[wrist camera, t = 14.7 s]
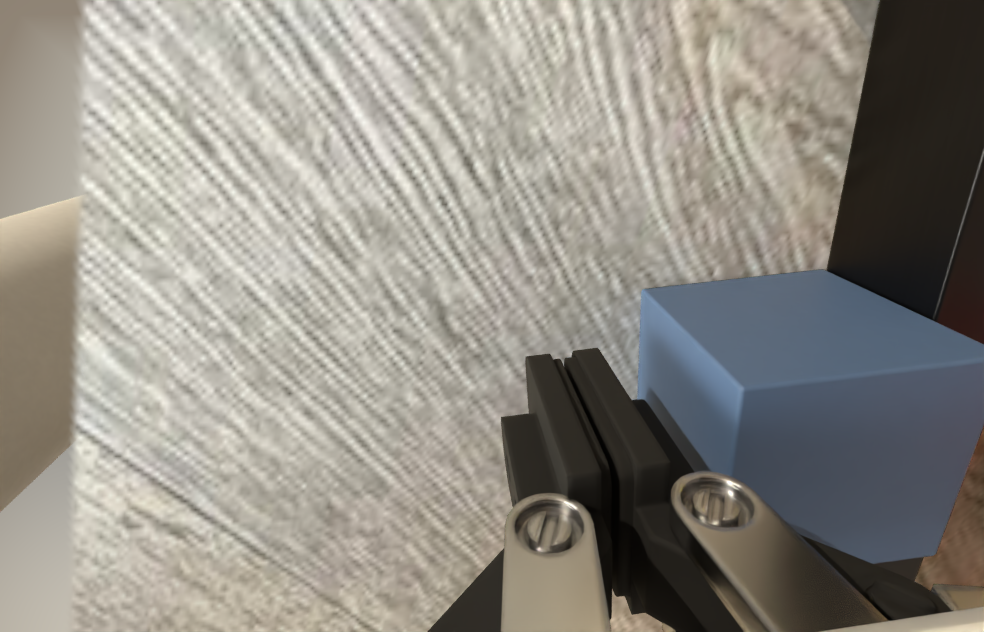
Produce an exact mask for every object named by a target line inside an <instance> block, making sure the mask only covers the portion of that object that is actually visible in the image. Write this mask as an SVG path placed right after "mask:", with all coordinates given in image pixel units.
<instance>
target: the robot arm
mask: <svg viewBox="0 0 984 632" xmlns="http://www.w3.org/2000/svg"><path fill="white" fill-rule="evenodd" d="M525 362H526V378H527V393H528V408H529V414H522V415H514V416H506V417H501V426H502V437H503V447H504V456H505V464H506V471H507V478H508V484H509V490H510V495H511V501H512V506H513V508H512V509H511V511H510V512H509V514H508V515H507V519H506V524H505V538H504V549H503V550H502V551H501V552H500V553H499V554H498V555H497V556H496V557H495V559H494V560H493V561H492V562H491V563H490V564H489V565H488V566H487V567H486V568H485V570H484V571H483V572H482V573H481V574H480V575H479V576H478V577H477V578H476V579H475V580H474V582H473V583H472V584H471V585H470V586H469V587H468V588H467V589H466V590H465V591H464V592H463V594H462V595H461V596H460V597H459V598H458V599H457V600H456V601H455V602H454V603H453V604H452V606H451V607H450V608H449V609H448V610H447V611H446V612H445V613H444V614H443V615H442V617H441V618H440V619H439V620H438V621H437V622H436V623H435V624H434V625H433V626H432V627H431V629H430V630H429V631H428V632H611V625H610V619H611V614H612V589H613V591H614V594H615V595H616V596H617V597H619V596H625V598H626V600H627V603H628V606H629V608H630V611H631V614H632V615H633V614H639V613H647V614H649V615H650V616H652V617H654V618H655V619H657V620H659V621H661V622H662V630H663V632H984V587H978V586H961V585H944V584H933V587H932V590H931V591H929V590H928V589H926V588H925V587H924V586H922V585H920V584H918V583H916V582H914V581H912V580H910V579H908V578H906V577H904V576H902V575H899V574H897V573H894V572H892V571H889V570H887V569H884V568H882V567H879V566H877V565H874V564H872V563H870V562H867V561H865V560H862V559H860V558H857V557H855V556H852V555H850V554H847V553H845V552H842V551H840V550H837V549H835V548H832V547H830V546H827V545H825V544H822V543H820V542H817V541H815V540H812V539H810V538H807V537H805V536H802V535H800V534H799V533H797V532H796V531H795V530H794V529H793V528H792V527H791V526H790V525H789V524H788V523H787V522H786V521H785V520H784V519H783V518H782V517H781V516H780V515H779V514H778V513H777V512H776V511H775V510H774V509H773V508H772V507H771V506H770V505H769V504H768V503H766V502H765V501H764V500H763V499H762V498H761V497H760V496H759V495H758V494H757V493H756V492H755V491H754V490H753V489H751V488H750V487H749V486H747V485H746V484H745V483H744V482H742V481H740V480H737V479H735V478H733V477H731V476H728V475H725V474H721V473H717V472H706V471H701V472H694V470H693V469H692V467H691V466H690V464H689V463H688V462H687V460H686V459H685V457H684V456H683V454H682V453H681V451H680V450H679V448H678V447H677V445H676V444H675V442H674V441H673V440H672V438H671V437H670V435H669V434H668V432H667V431H666V429H665V428H664V426H663V425H662V423H661V422H660V420H659V419H658V418H657V416H656V415H655V413H654V412H653V410H652V409H651V407H650V406H649V404H648V403H647V402H646V401H645V400H643V399H638V400H631V399H630V397H629V396H628V394H627V393H626V391H625V390H624V388H623V386H622V385H621V383H620V382H619V380H618V379H617V377H616V375H615V374H614V372H613V371H612V369H611V367H610V366H609V364H608V363H607V361H606V360H605V358H604V356H603V355H602V353H601V352H600V350H599V349H598V348H592V349H584V350H576V351H573V352H572V357H570V358H565V360H564V366H563V364H562V362H561V360H560V359H554V360H553V359H552V357H551V355H550V354H543V355H535V356H527V357H526V361H525Z"/></svg>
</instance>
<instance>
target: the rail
mask: <svg viewBox="0 0 984 632" xmlns="http://www.w3.org/2000/svg"><path fill="white" fill-rule="evenodd" d="M827 271H828V272H830V273H832V274H834V275H836V276H839V277H841V278H843V279H845V280H847V281H849V282H851V283H854V284H856V285H858V286H860V287H862V288H864V289H866V290H868V291H871V292H873V293H875V294H877V295H879V296H881V297H883V298H886V299H888V300H890V301H892V302H894V303H896V304H898V305H901V306H903V307H905V308H907V309H909V310H911V311H913V312H916V313H918V314H920V315H922V316H924V317H926V318H928V319H930V320H933V321H935V322H937V323H939V324H941V325H943V326H945V327H948V328H950V329H952V330H954V331H956V332H958V333H960V334H963V335H965V336H967V337H969V338H971V339H973V340H975V341H978V342H980V343H982V344H984V0H880V2H879V7H878V12H877V17H876V22H875V28H874V33H873V38H872V43H871V48H870V53H869V58H868V63H867V68H866V73H865V78H864V83H863V88H862V94H861V99H860V104H859V109H858V114H857V119H856V124H855V129H854V134H853V139H852V144H851V149H850V154H849V160H848V165H847V170H846V175H845V180H844V185H843V190H842V195H841V200H840V205H839V210H838V215H837V220H836V226H835V231H834V236H833V241H832V246H831V251H830V256H829V261H828V266H827ZM922 560H923V557H921V558H914V559H906V560H899V561H892V562H884V563H877V564H874V565H877V566H879V567H882V568H884V569H887V570H889V571H892V572H894V573H897V574H899V575H902V576H904V577H906V578H908V579H910V580H912V581H914V582H915V579H916V576H917V573H918V571H919V568H920V565H921V562H922Z"/></svg>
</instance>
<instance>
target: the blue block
mask: <svg viewBox="0 0 984 632" xmlns="http://www.w3.org/2000/svg"><path fill="white" fill-rule="evenodd" d="M638 399H643V400H645V401H646V402H647V403H648V404H649V406H650V407H651V409H652V410H653V412H654V413H655V415H656V416H657V418H658V419H659V420H660V422H661V423H662V425H663V426H664V428H665V429H666V431H667V432H668V434H669V435H670V437H671V438H672V440H673V441H674V442H675V444H676V445H677V447H678V448H679V450H680V451H681V453H682V454H683V456H684V457H685V459H686V460H687V462H688V463H689V464H690V466H691V467H692V469H693V470H694V472H701V471H706V472H717V473H721V474H725V475H728V476H731V477H733V478H735V479H737V480H740V481H742V482H744V483H745V484H746V485H747V486H749V487H750V488H751V489H753V490H754V491H755V492H756V493H757V494H758V495H759V496H760V497H761V498H762V499H763V500H764V501H765V502H766V503H768V504H769V505H770V506H771V507H772V508H773V509H774V510H775V511H776V512H777V513H778V514H779V515H780V516H781V517H782V518H783V519H784V520H785V521H786V522H787V523H788V524H789V525H790V526H791V527H792V528H793V529H794V530H795V531H796V532H797V533H799V534H800V535H802V536H805V537H807V538H810V539H812V540H815V541H817V542H820V543H822V544H825V545H827V546H830V547H832V548H835V549H837V550H840V551H842V552H845V553H847V554H850V555H852V556H855V557H857V558H860V559H862V560H865V561H867V562H870V563H872V564H877V563H884V562H892V561H899V560H906V559H914V558H921V557H928V556H933V555H935V554H936V553H937V550H938V548H939V545H940V542H941V539H942V537H943V534H944V531H945V529H946V526H947V523H948V521H949V518H950V515H951V513H952V510H953V507H954V505H955V502H956V499H957V497H958V494H959V491H960V489H961V486H962V483H963V481H964V478H965V475H966V472H967V470H968V467H969V464H970V462H971V459H972V456H973V454H974V451H975V448H976V446H977V443H978V440H979V438H980V435H981V432H982V430H983V427H984V344H982V343H980V342H978V341H975V340H973V339H971V338H969V337H967V336H965V335H963V334H960V333H958V332H956V331H954V330H952V329H950V328H948V327H945V326H943V325H941V324H939V323H937V322H935V321H933V320H930V319H928V318H926V317H924V316H922V315H920V314H918V313H916V312H913V311H911V310H909V309H907V308H905V307H903V306H901V305H898V304H896V303H894V302H892V301H890V300H888V299H886V298H883V297H881V296H879V295H877V294H875V293H873V292H871V291H868V290H866V289H864V288H862V287H860V286H858V285H856V284H854V283H851V282H849V281H847V280H845V279H843V278H841V277H839V276H836V275H834V274H832V273H830V272H828V271H826V270H823V269H821V270H812V271H803V272H794V273H785V274H776V275H767V276H758V277H749V278H739V279H730V280H721V281H712V282H703V283H694V284H685V285H676V286H667V287H658V288H649V289H643V290H642V293H641V319H640V345H639V371H638V398H637V400H638Z"/></svg>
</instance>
